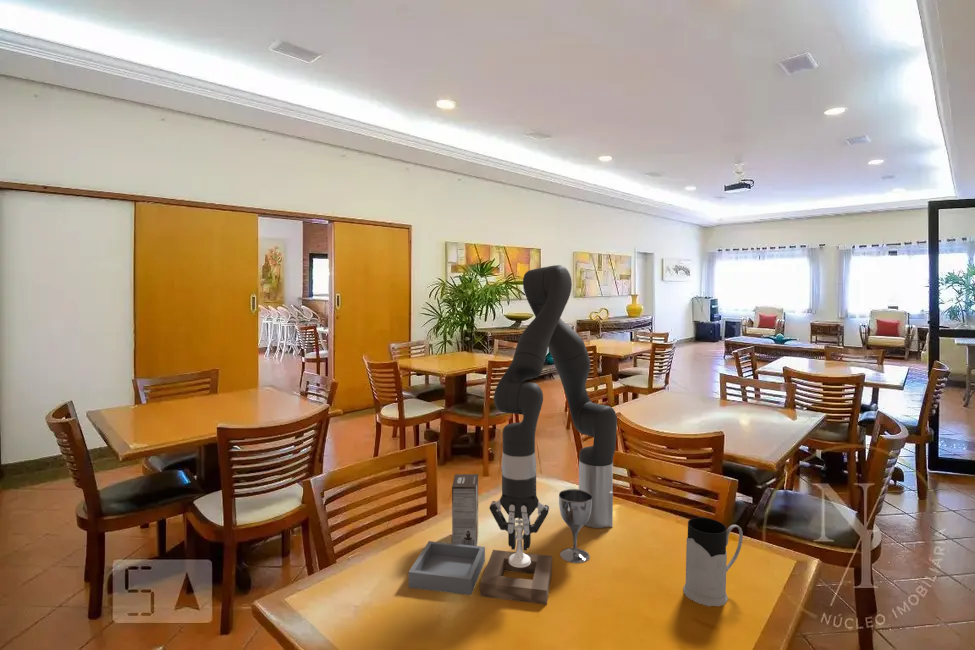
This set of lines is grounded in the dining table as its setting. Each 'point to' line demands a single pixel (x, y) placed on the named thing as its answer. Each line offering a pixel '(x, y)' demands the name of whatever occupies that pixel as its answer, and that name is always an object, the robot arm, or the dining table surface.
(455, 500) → the coffee box
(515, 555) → the chess piece
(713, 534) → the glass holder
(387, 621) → the dining table surface
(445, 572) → the tray
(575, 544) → the wine glass
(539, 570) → the socket block
